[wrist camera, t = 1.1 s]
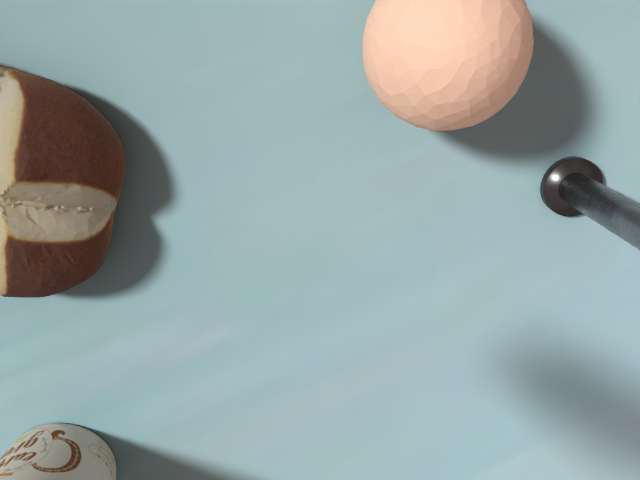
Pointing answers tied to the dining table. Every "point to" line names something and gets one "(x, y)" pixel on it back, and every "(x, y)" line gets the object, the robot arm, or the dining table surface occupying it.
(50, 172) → the bread
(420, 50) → the egg
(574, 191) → the pole
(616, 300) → the dining table surface
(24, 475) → the mug
